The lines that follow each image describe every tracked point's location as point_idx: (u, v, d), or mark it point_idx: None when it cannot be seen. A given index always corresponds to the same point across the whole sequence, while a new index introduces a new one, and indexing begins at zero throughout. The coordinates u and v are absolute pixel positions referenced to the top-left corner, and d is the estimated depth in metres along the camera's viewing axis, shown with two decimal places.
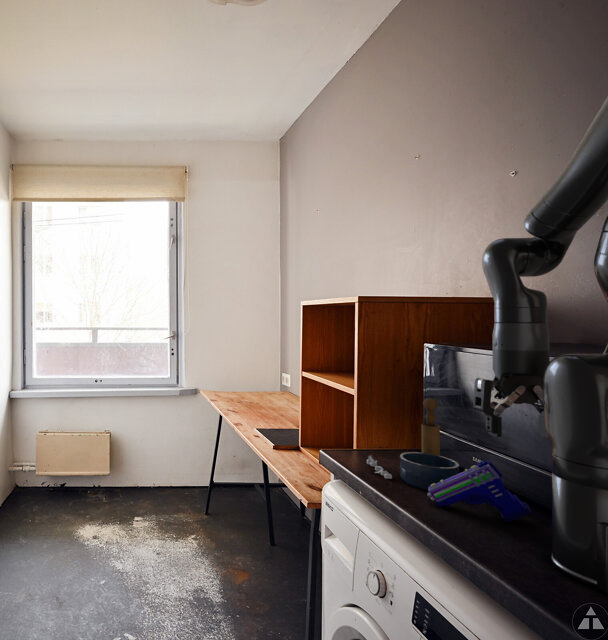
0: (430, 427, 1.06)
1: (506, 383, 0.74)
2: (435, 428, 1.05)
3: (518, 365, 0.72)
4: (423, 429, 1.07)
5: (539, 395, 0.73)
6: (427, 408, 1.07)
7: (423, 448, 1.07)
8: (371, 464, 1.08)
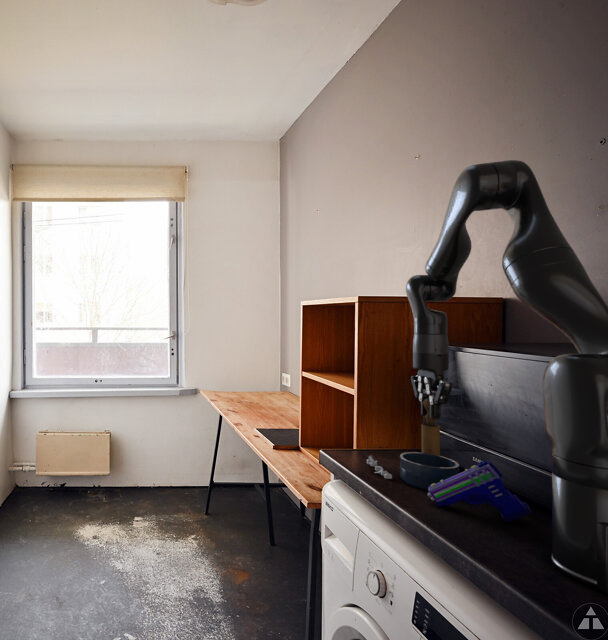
0: (430, 427, 1.06)
1: (418, 374, 1.10)
2: (435, 428, 1.05)
3: None
4: (423, 429, 1.07)
5: (426, 384, 1.06)
6: (427, 408, 1.07)
7: (423, 448, 1.07)
8: (371, 464, 1.08)
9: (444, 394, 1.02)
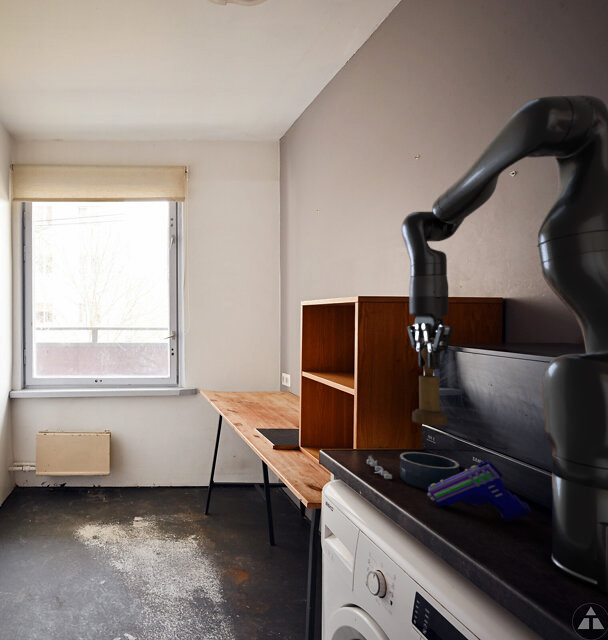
0: (428, 378, 0.96)
1: (415, 322, 1.01)
2: (434, 379, 0.96)
3: None
4: (421, 381, 0.98)
5: (424, 331, 0.97)
6: (425, 357, 0.97)
7: (421, 402, 0.98)
8: (371, 464, 1.08)
9: (443, 339, 0.92)
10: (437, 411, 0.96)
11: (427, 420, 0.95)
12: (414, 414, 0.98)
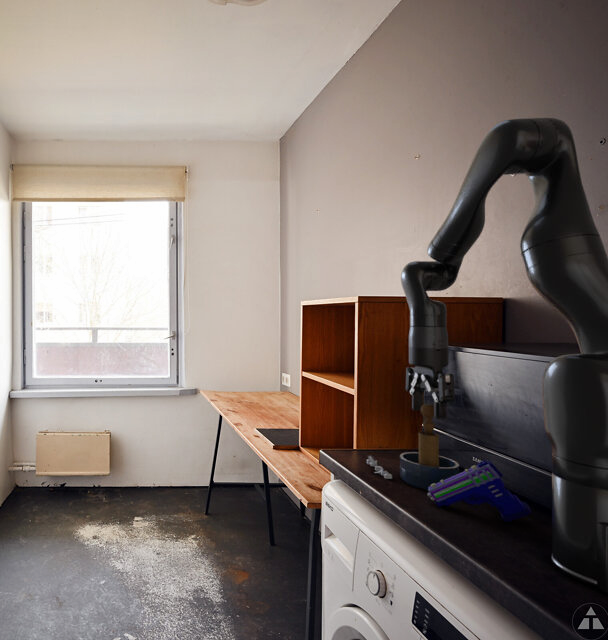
0: (428, 436, 0.95)
1: (415, 371, 1.00)
2: (433, 437, 0.95)
3: None
4: (420, 438, 0.97)
5: (425, 382, 0.95)
6: (425, 415, 0.96)
7: (420, 459, 0.97)
8: (371, 464, 1.08)
9: (447, 387, 0.90)
10: None
11: None
12: None
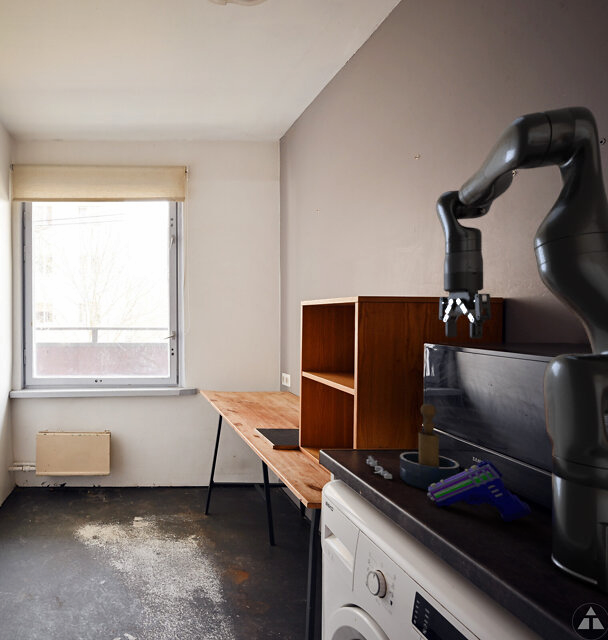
0: (428, 436, 0.95)
1: (449, 298, 1.04)
2: (433, 437, 0.95)
3: None
4: (420, 438, 0.97)
5: (460, 305, 0.99)
6: (425, 415, 0.96)
7: (420, 459, 0.97)
8: (371, 464, 1.08)
9: (484, 306, 0.94)
10: None
11: None
12: None
